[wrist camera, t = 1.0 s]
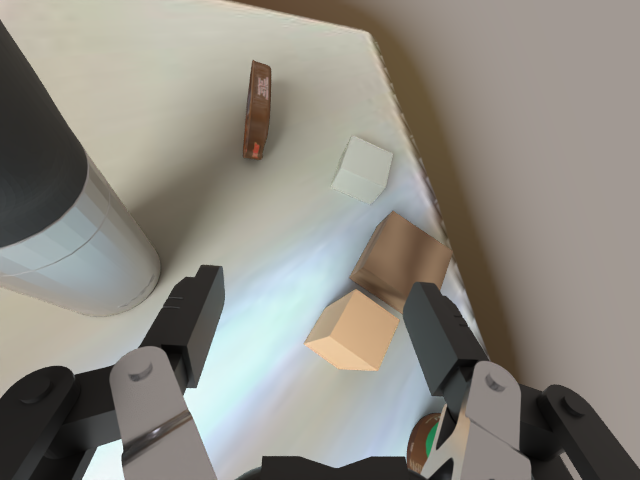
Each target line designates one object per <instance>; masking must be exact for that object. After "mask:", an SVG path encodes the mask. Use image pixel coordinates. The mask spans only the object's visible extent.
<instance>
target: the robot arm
mask: <svg viewBox="0 0 640 480" xmlns="http://www.w3.org/2000/svg"><path fill="white" fill-rule="evenodd" d="M160 270H161V264H160V259H159V256H158V254H157V252H156V250H155V249H154V247H153V246H152V244H151V243H150V241H149V240H148V239H147V237H146V235H145V234H144V233H143V231H142V230H141V228H140V227H139V226H138V224H137V223H136V221H135V220H134V218H133V217H132V216H131V214H130V213H129V211H128V210H127V209H126V207H125V206H124V204H123V203H122V201H121V200H120V199H119V197H118V196H117V194H116V193H115V192H114V190H113V189H112V187H111V186H110V184H109V183H108V182H107V180H106V179H105V177H104V176H103V175H102V173H101V172H100V170H99V169H98V168H97V166H96V165H95V164H94V162H93V161H92V159H91V158H90V156H89V155H88V154H87V152H86V151H85V149H84V148H83V147H82V145H81V143H80V142H79V140H78V139H77V137H76V136H75V135H74V133H73V132H72V130H71V129H70V128H69V126H68V125H67V123H66V121H65V120H64V118H63V117H62V115H61V113H60V112H59V110H58V108H57V107H56V105H55V104H54V102H53V100H52V99H51V97H50V95H49V94H48V92H47V90H46V89H45V87H44V85H43V84H42V82H41V81H40V79H39V78H38V76H37V74H36V73H35V71H34V70H33V68H32V67H31V65H30V64H29V62H28V61H27V59H26V58H25V56H24V55H23V53H22V52H21V50H20V49H19V47H18V46H17V44H16V43H15V41H14V40H13V38H12V37H11V35H10V34H9V32H8V31H7V29H6V28H5V26H4V25H3V23H2V22H1V20H0V287H2V288H5V289H8V290H11V291H14V292H17V293H20V294H23V295H26V296H29V297H32V298H35V299H38V300H41V301H44V302H47V303H50V304H53V305H56V306H59V307H62V308H65V309H68V310H71V311H74V312H77V313H80V314H83V315H88V316H94V317H102V316H111V315H116V314H120V313H122V312H125V311H128V310H130V309H131V308H133V307H135V306H137V305H138V304H140V303H141V302H142V301H143V300H144V299H146V298H147V297H148V296H149V294H150V293H151V292H152V291H153V289H154V288H155V286H156V284H157V282H158V279H159V276H160ZM224 300H225V289H224V276H223V268H222V266H213V265H201V266H200V268H199V270H198V272H197V274H196V276H195V277H185V278H184V279H182V280H181V281H180V282H179V283H178V284H176V285H175V286H174V288H173V290H172V291H171V293H170V295H169V297H168V299H167V300H166V302H165V303H164V305H163V308H162V309H161V310H160V312H159V314H158V316H157V317H156V319H155V321H154V322H153V324H152V326H151V328H150V329H149V331H148V333H147V334H146V336H145V338H144V340H143V341H142V343H141V345H140V346H139V347H138V349H135V350H133V351H131V352H129V353H127V354H126V355H124V356H123V357H122V358H121V359H120V360H119V361H118V362H117V363H116V364H114V365H112V366H109V367H105V368H101V369H97V370H93V371H89V372H84V373H80V374H76V375H74V374H73V373H72V371H71V370H70V369H68V368H67V367H63V366H50V367H45V368H42V369H39V370H37V371H34V372H32V373H30V374H28V375H26V376H25V377H23V378H22V379H20V380H19V381H17V382H16V383H15V384H14V385H13V386H11V387H10V388H9V389H8V390H7V391H6V393H5V394H4V395H3V396H2V397H1V399H0V480H82V478H83V476H84V474H85V472H86V470H87V468H88V466H89V464H90V462H91V459H92V457H93V455H94V453H95V451H96V449H97V447H98V446H101V445H104V444H107V443H110V442H113V441H116V440H119V439H122V443H123V453H122V467H123V473H124V478H125V480H217V477H216V475H215V472H214V470H213V467H212V465H211V462H210V460H209V457H208V455H207V452H206V450H205V447H204V445H203V442H202V440H201V437H200V434H199V432H198V429H197V427H196V424H195V422H194V420H193V417H192V415H191V413H190V412H189V410H188V408H187V405H186V403H185V400H184V398H183V395H184V393H185V390H186V388H197V385H198V382H199V379H200V376H201V373H202V370H203V367H204V364H205V361H206V358H207V355H208V352H209V349H210V346H211V343H212V340H213V337H214V334H215V331H216V328H217V325H218V322H219V319H220V316H221V313H222V310H223V306H224ZM403 319H404V322H405V325H406V328H407V330H408V333H409V336H410V339H411V341H412V344H413V347H414V349H415V352H416V355H417V357H418V360H419V363H420V366H421V368H422V371H423V374H424V376H425V379H426V382H427V384H428V387H429V390H430V393H431V395H432V396H444V399H445V401H446V404H445V405H444V407H443V409H442V413H441V417H440V420H439V424H438V427H437V431H436V434H435V438H434V441H433V445H432V448H431V452H430V454H429V457H428V459H427V461H426V463H425V465H424V467H423V469H422V471H421V474H419V473H417V472H415V471H413V470H411V469H409V468H408V467H407V463H406V459H405V457H369V458H366V459H363V460H360V461H357V462H355V463H352V464H349V465H346V466H343V467H340V468H333V467H330V466H327V465H324V464H321V463H318V462H315V461H312V460H309V459H306V458H303V457H300V456H263V457H262V466H261V467H258V468H255V469H252V470H250V471H248V472H246V473H244V474H243V475H241V476H240V477H238V478H237V479H235V480H574V479H573V478H572V476H571V474H570V473H569V471H568V469H567V467H566V466H565V464H564V462H563V461H562V459H561V457H560V456H559V455H560V454H562V453H564V452H566V454H567V455H568V457H569V459H570V460H571V462H572V463H573V465H574V467H575V468H576V470H577V471H578V473H579V475H580V477H581V478H582V480H640V469H639V468H638V466H637V465H636V464H635V463H634V461H633V460H632V459H631V457H630V456H629V455H628V453H627V452H626V451H625V450H624V448H623V447H622V446H621V444H620V443H619V442H618V440H617V439H616V438H615V436H614V435H613V434H612V433H611V431H610V430H609V429H608V427H607V426H606V425H605V424H604V422H603V421H602V420H601V418H600V417H599V416H598V414H597V413H596V412H595V411H594V409H593V408H592V407H591V406H590V404H589V403H587V401H586V400H585V399H583V398H582V397H581V396H580V395H578V394H577V393H575V392H574V391H572V390H571V389H569V388H566V387H564V386H561V385H550V386H549V387H548V388H546V389H545V390H544V391H543V392H542V391H539V390H536V389H533V388H531V387H527V386H525V385H522V384H519V383H517V382H516V380H515V379H514V377H513V376H511V374H510V373H509V372H508V371H507V370H505V369H504V368H502V367H501V366H499V365H497V364H495V363H493V362H490V361H489V359H488V358H487V356H486V354H485V353H484V351H483V349H482V348H481V346H480V344H479V343H478V341H477V339H476V338H475V336H474V334H473V333H472V331H471V330H470V328H469V327H468V325H467V323H466V321H465V320H464V318H462V315H461V313H460V311H459V310H458V308H457V306H456V305H455V304H454V303H453V302H452V301H451V300H450V299H449V298H447V297H446V296H442V294H441V292H440V291H439V289H438V287H437V286H436V284H434V283H428V282H415V283H414V284H413V286H412V288H411V291H410V293H409V295H408V298H407V300H406V302H405V304H404V307H403Z"/></svg>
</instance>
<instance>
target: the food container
mask: <svg viewBox="0 0 640 480" xmlns="http://www.w3.org/2000/svg"><path fill="white" fill-rule="evenodd" d="M440 417H441V413H432V414H429V415H426V416H424V417H423V418H422V419H420V421H419V422H418V423H417V424H416V425H415V427H414V429H413V430H412V433H411V435H410V438H409V442H408V447H407V467H408V468H409V469H411V470H413V471H415V472H417V473H419V474H421V471H422V469H423V467H424V465H425V463H426V461H427V459H428V457H429V454H430V452H431V448H432V445H433V441H434V438H435V434H436V431H437V427H438V424H439V420H440ZM562 461H563V460H562ZM565 466H566V465H565Z"/></svg>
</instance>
